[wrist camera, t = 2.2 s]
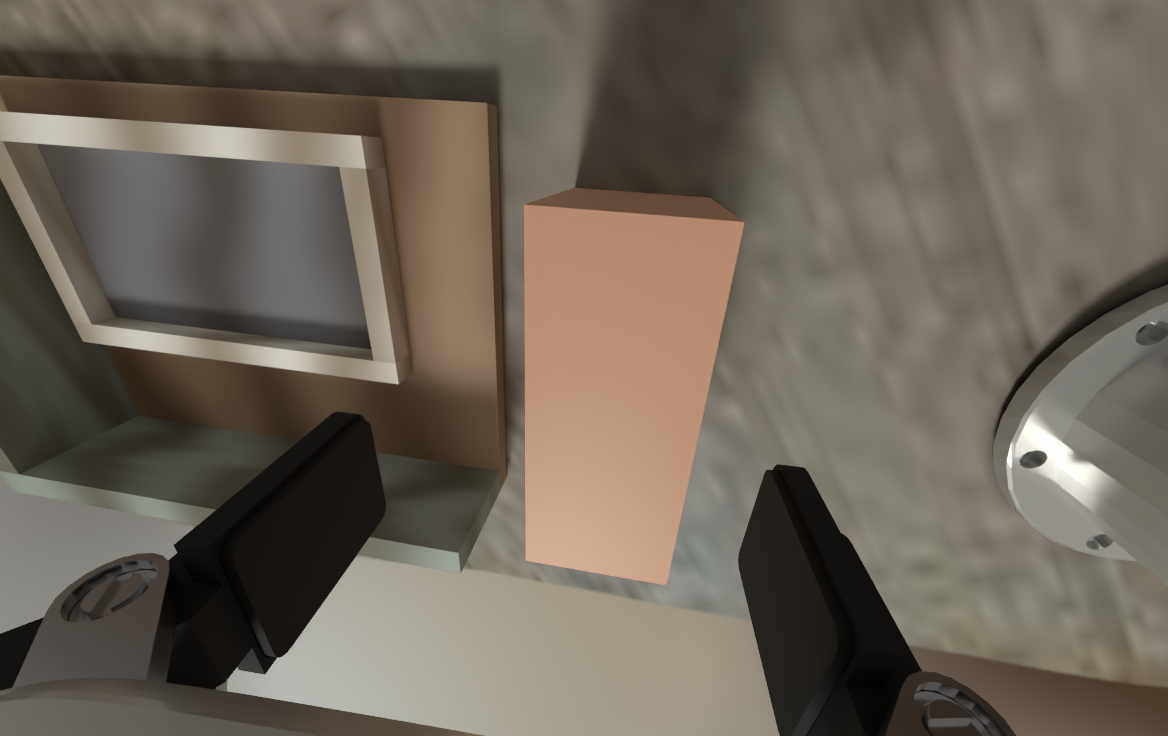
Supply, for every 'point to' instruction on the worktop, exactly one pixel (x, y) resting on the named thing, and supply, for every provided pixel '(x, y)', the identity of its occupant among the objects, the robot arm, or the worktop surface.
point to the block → (618, 370)
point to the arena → (250, 298)
